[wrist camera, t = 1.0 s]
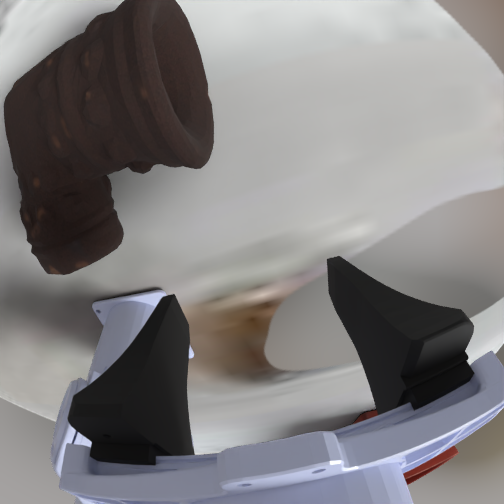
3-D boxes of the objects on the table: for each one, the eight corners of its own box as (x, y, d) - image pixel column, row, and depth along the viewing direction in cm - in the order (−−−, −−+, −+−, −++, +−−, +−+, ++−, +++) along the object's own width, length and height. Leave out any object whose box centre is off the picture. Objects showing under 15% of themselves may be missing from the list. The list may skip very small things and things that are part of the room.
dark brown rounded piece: (19, 296, 15) (211, 275, 13) (-45, 102, 8) (133, -43, 6) (82, 234, 24) (237, 201, 21) (39, 86, 17) (193, 11, 14)
